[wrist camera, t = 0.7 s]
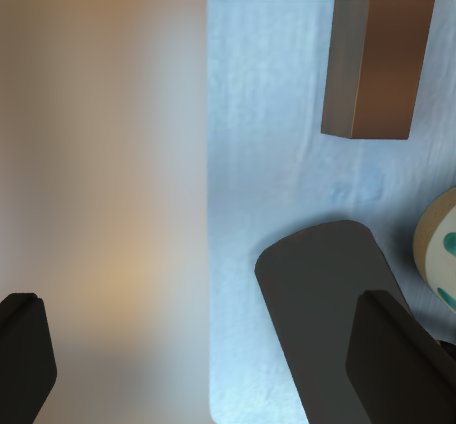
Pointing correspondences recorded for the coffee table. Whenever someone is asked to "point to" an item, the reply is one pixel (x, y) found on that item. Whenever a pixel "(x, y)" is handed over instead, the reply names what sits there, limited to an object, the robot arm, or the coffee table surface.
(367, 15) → the bar walnut
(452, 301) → the vase
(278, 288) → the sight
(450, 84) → the coffee table surface
